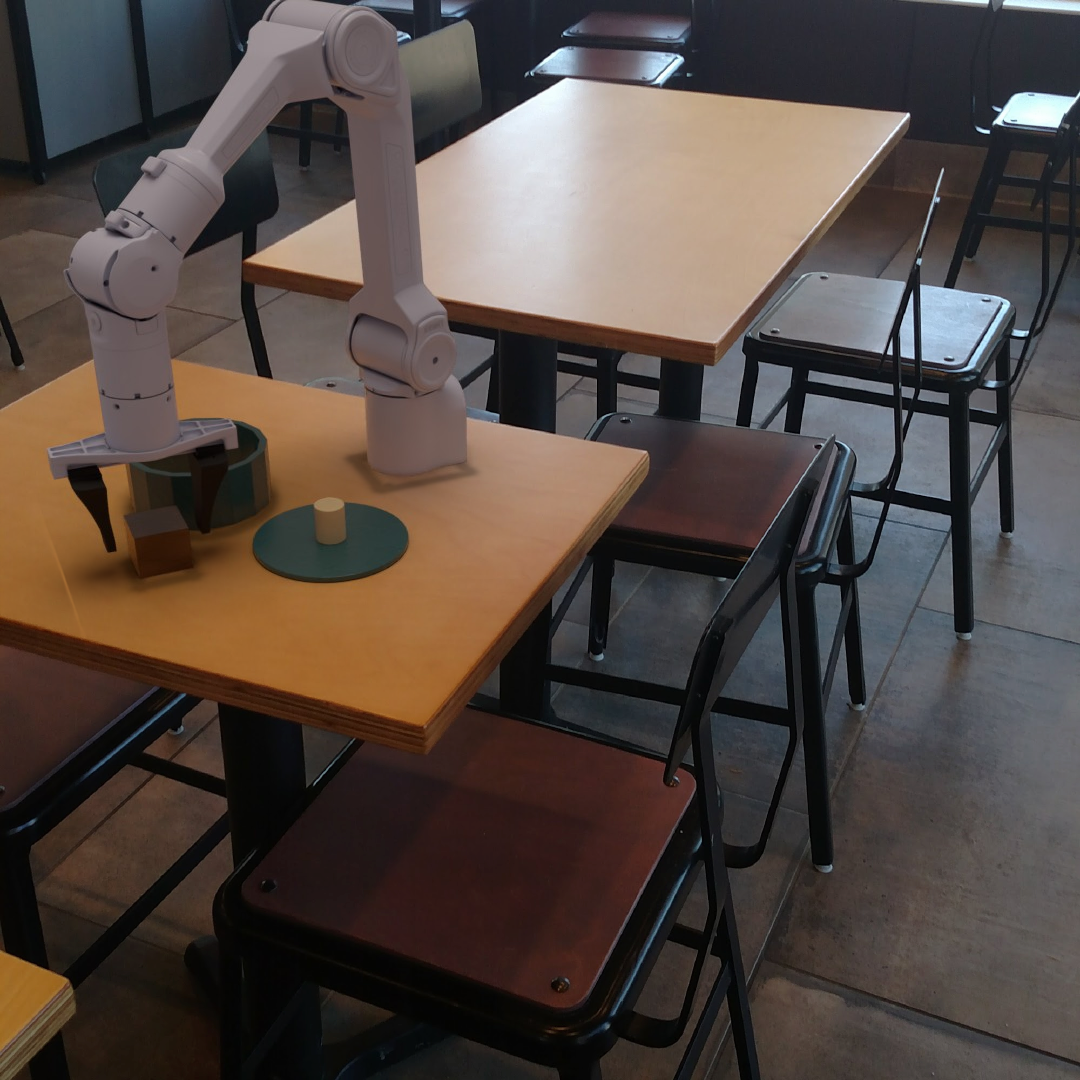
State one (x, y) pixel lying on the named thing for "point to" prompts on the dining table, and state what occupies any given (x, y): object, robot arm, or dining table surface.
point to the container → (236, 495)
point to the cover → (330, 541)
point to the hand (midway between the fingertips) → (157, 537)
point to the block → (158, 541)
